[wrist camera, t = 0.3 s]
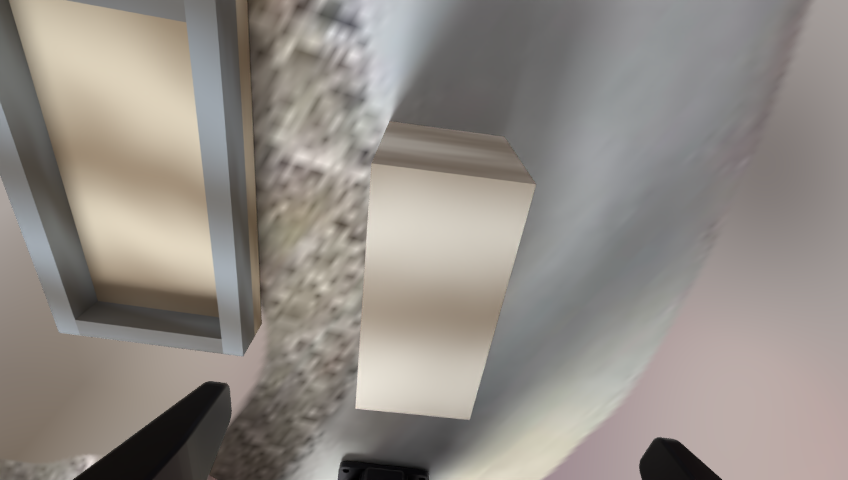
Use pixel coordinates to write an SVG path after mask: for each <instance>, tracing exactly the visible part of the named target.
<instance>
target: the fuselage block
mask: <svg viewBox="0 0 848 480" xmlns="http://www.w3.org/2000/svg"><path fill="white" fill-rule="evenodd" d="M535 187H536V183H535V182H534V180H533V179H532V177H531V176H530V174H529V173H528V171H527V170H526V168H525V167H524V165H523V164H522V162H521V161H520V159H519V158H518V156H517V155H516V153H515V152H514V150H513V149H512V147H511V146H510V144H509V143H508V141H507V140H506V138H505V137H504V136H496V135H489V134H481V133H474V132H466V131H459V130H452V129H444V128H437V127H429V126H422V125H414V124H407V123H400V122H392V121H389V124H388V126H387V128H386V131H385V133H384V135H383V138H382V140H381V142H380V145H379V147H378V149H377V152H376V154H375V156H374V159H373V161H372V164H371V179H370V194H369V209H368V225H367V240H366V255H365V270H364V285H363V300H362V315H361V330H360V346H359V361H358V376H357V391H356V406H355V409H364V410H374V411H384V412H394V413H404V414H415V415H425V416H435V417H445V418H455V419H466V420H470V417H471V413H472V410H473V406H474V402H475V399H476V395H477V392H478V388H479V385H480V381H481V378H482V374H483V371H484V367H485V364H486V360H487V357H488V353H489V349H490V346H491V342H492V339H493V335H494V332H495V328H496V325H497V321H498V318H499V314H500V311H501V307H502V304H503V300H504V297H505V293H506V289H507V286H508V282H509V279H510V275H511V272H512V268H513V265H514V261H515V258H516V254H517V251H518V247H519V244H520V240H521V236H522V233H523V229H524V226H525V222H526V219H527V215H528V212H529V208H530V205H531V201H532V198H533V194H534V191H535Z"/></svg>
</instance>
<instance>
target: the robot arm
mask: <svg viewBox="0 0 848 480" xmlns="http://www.w3.org/2000/svg"><path fill="white" fill-rule="evenodd" d="M231 412H232V410H231V398H230V388H229V386H228V384H226V383H221V382H213V381H209V382H205V383H203V384H202V385H201V386H199V387H198V388H197V389H195V390H194V391H192V392H191V393H190V394H188V395H187V396H186V397H185V398H183V399H182V400H180V401H179V402H178V403H176V404H175V405H173V406H172V407H171V408H169V409H168V410H167V411H165V412H164V413H163V414H161V415H160V416H159V417H157V418H156V419H154V420H153V421H152V422H150V423H149V424H148V425H146V426H145V427H144V428H142V429H141V430H140V431H138V432H137V433H135V434H134V435H133V436H131V437H130V438H129V439H127V440H126V441H125V442H123V443H122V444H121V445H119V446H118V447H117V448H115V449H114V450H112V451H111V452H110V453H108V454H107V455H106V456H104V457H103V458H102V459H100V460H99V461H97V462H96V463H95V464H93V465H92V466H91V467H89V468H88V469H87V470H85V471H84V472H83V473H81V474H80V475H78V476H77V477H76V478H74V479H73V480H207V479H208V476H209V473H210V471H211V468H212V466H213V463H214V461H215V458H216V456H217V453H218V450H219V448H220V445H221V443H222V440H223V438H224V435H225V432H226V430H227V427H228V425H229V422H230V418H231ZM639 469H640V474H641V478H642V480H722V479H721V478H720V477H719V476H718V475H716V474H715V473H714V472H713V471H712V470H711V469H710V468H708V467H707V466H706V465H705V464H704V463H703V462H702V461H701V460H700V459H698V458H697V457H696V456H695V455H694V454H693V453H691V452H690V451H689V450H688V449H687V448H686V447H685V446H684V445H683V444H681V443H680V442H679V441H677V440H674V439H669V438H661V437H658V438H655V439H654V440H653V441H652V443H651V444H650V446H649V448H648V449H647V450H646V452H645V453H644V455H643V456H642V458H641V460H640V464H639ZM338 480H429V473H428V472H427V471H425V470H419V469H411V468H402V467H393V466H384V465H376V464H367V463H358V462H349V461H344V462H341V463H340V467H339V473H338Z"/></svg>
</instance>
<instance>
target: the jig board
mask: <svg viewBox="0 0 848 480" xmlns="http://www.w3.org/2000/svg"><path fill="white" fill-rule="evenodd" d="M0 176H1V178H2V181H3V184H4V187H5V189H6V192H7V194H8V197H9V200H10V202H11V205H12V208H13V211H14V213H15V216H16V219H17V221H18V224H19V227H20V229H21V232H22V234H23V237H24V240H25V243H26V245H27V248H28V251H29V253H30V256H31V259H32V261H33V264H34V266H35V269H36V272H37V275H38V277H39V280H40V282H41V285H42V288H43V291H44V293H45V296H46V299H47V301H48V304H49V307H50V309H51V312H52V315H53V317H54V320H55V323H56V325H57V328H58V331H59V333H67V334H74V335H82V336H90V337H97V338H105V339H113V340H121V341H128V342H136V343H144V344H151V345H159V346H167V347H175V348H182V349H190V350H198V351H205V352H213V353H221V354H228V355H236V356H244V354H245V352H246V350H247V349H248V347H249V345H250V343H251V342H252V340H253V338H254V336H255V335H256V333H257V331H258V329H259V328H260V326H261V324H262V320H261V298H260V275H259V253H258V230H257V208H256V185H255V163H254V140H253V118H252V95H251V73H250V50H249V28H248V5H247V0H0Z"/></svg>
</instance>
